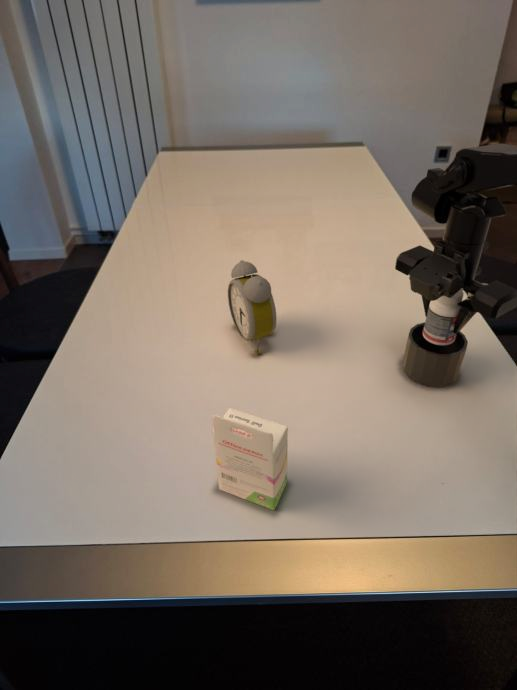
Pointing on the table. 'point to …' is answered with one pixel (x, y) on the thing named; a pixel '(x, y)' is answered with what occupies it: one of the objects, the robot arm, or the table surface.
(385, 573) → the table surface
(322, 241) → the table surface
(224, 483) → the white medicine box
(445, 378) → the pen holder
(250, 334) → the alarm clock
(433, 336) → the pill bottle
